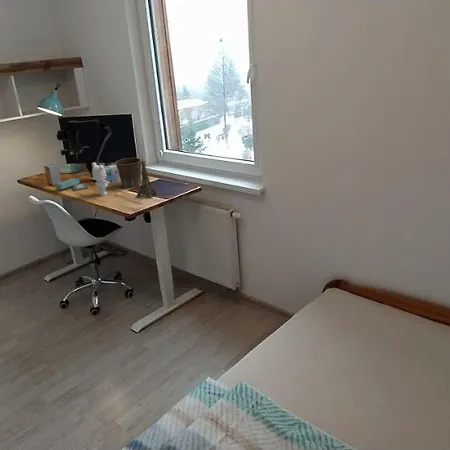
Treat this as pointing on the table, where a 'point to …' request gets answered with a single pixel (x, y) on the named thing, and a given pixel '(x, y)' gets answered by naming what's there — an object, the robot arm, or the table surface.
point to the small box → (52, 174)
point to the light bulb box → (112, 174)
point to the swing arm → (68, 183)
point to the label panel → (80, 187)
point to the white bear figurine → (100, 178)
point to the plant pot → (129, 172)
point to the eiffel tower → (145, 183)
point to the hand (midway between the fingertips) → (77, 163)
